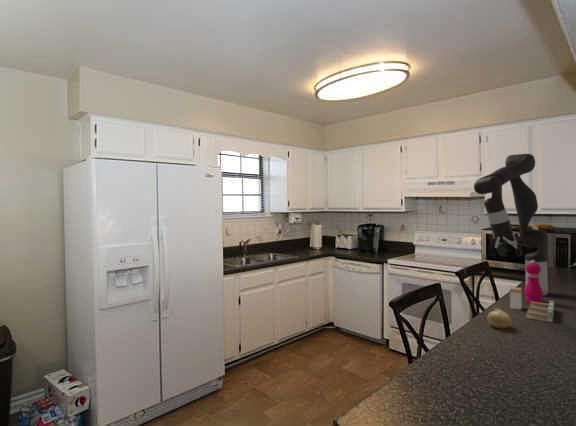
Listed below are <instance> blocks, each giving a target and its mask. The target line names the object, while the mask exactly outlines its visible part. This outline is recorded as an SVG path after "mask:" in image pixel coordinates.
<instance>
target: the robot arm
mask: <svg viewBox="0 0 576 426" xmlns="http://www.w3.org/2000/svg"><path fill="white" fill-rule="evenodd" d="M504 163H505V166H503V167H500V168H498V169H496V170H495V171H493V172H491V173H490V174H488V175H485V176H482V177H479V178H478V179H476V181H475V182H474V184H473V190H474V191H475V192H476V193H477V194H479V195H487V194H491V197H489V198H487V199H485V200H484V201H483V206H484V208H485V210H486V214H487V219H488V222H489V224H490V225H489V226H490V229H491V233H489V234H487V237H488V240H489V245H490V247H491V248H495V249H496V252H497V255H498V256H499V257H503V256H504V255H505V254H504V250H503V247H502V244H509V245H511V246H513V247H514V250H515V254H516V257H521V256H523V254H524V252H523V249H522V247H523V246H524V247H526V248H537V251H534V252H532V253H526V254H525V256H524V262H525V263H524V265H525V269H524V270H525V287H526V286H527V283H528V276H527V273H528V272H527V271H526V266H527V265H528V264H530V263H531V261H532V260H534V261H535V264H538V265H539V266H540V267H541V272H540V273H539V274H540V277H539V284H540V286H541V288H542V291H543V295H542V296H544V297H545V296H548V290H549V289H548V287H549V286H548V285H549V284H548V243H549V236H548V232H547V231H546V230H545V229H530V227H529V226H530V225H529V224H530V222H531V220H532V218H533V217H534V215H536V213H537V211H538V208H539V206H538V204H539V203H538V198H537V196H536V195H537V194H536V193H535V192H534V190H532V188H530V186H528V185H527V184H526V183H525V182H524V180H523V179H522V177H521V176H523V175H525V174H529V173H531V172H533V170H534V169H535V167H536V159H535V156H534V155H533V154H531V153H519V154H509V155H507V156H506V158H505V162H504ZM508 182H509V183H510V186H511V189H512V190H511V191H512V195H513V200H514V202H513V203H514V206H515V211H516V214H517V219H518V223H519V231H517V232H513V227H512V224H511V221H510V217H509V214H508V213H507V211H506V207H505V205H504V201H503V186H504V185H506V183H508ZM542 296H541V297H542Z"/></svg>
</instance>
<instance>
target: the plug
mask: <svg viewBox="0 0 576 426" xmlns="http://www.w3.org/2000/svg"><path fill="white" fill-rule="evenodd" d="M522 297H523V296H522V287H517V286H515V287H514V286H511V287H510V288H509V301H510V303H509V305H510V309H512V310H519V311H522V308H523V298H522Z"/></svg>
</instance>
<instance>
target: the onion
mask: <svg viewBox="0 0 576 426" xmlns="http://www.w3.org/2000/svg"><path fill="white" fill-rule="evenodd" d="M486 319H487V322H488V324H489V325H490V326H492V327H494V328H497V329H499V330H500V329H506V328H509V327H510V326H511V324H512V319H511V317H510V315H509V314H508V313H506V312H505V311H503V310H502V309H501V308H496V307H495V308H494V307H492V311H490V312H489V313H488V314H487V316H486Z"/></svg>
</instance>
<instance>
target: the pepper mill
mask: <svg viewBox="0 0 576 426" xmlns="http://www.w3.org/2000/svg"><path fill="white" fill-rule="evenodd" d="M526 271H527V272H528V273H527V276H528V283H527V286H526V285H525V287H524V294H525V301H526V302H528V303H530V302H538V303H543V300H542V299H543V298H542V295H543V291H542V288H541V286H540V284H539V277H540V274H539V273H540V272H541V267H540V266H539V265H538V264H535V261H534V260H532V261H531V263H530V264H528V265H527V266H526Z"/></svg>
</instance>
